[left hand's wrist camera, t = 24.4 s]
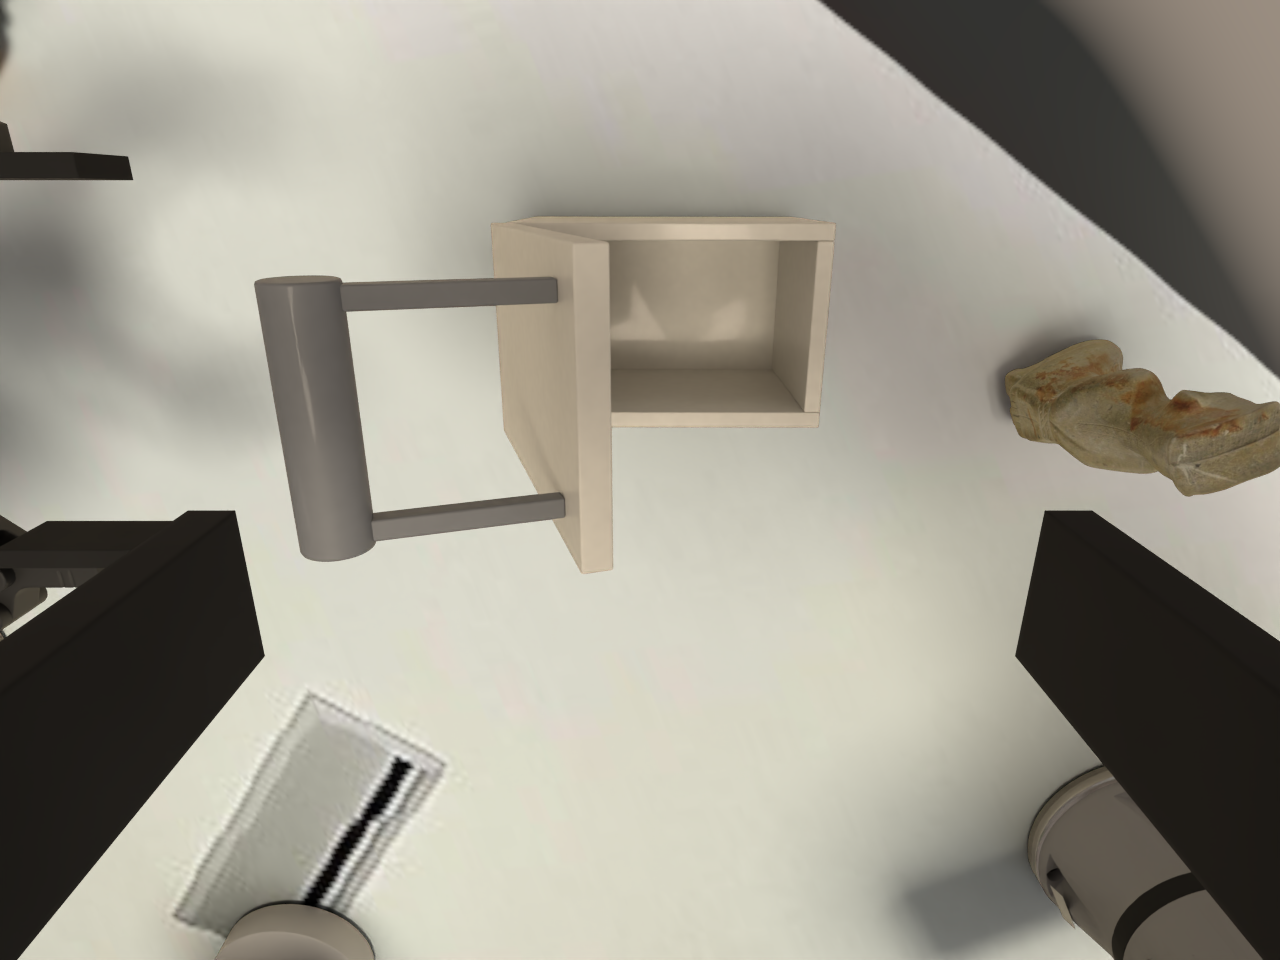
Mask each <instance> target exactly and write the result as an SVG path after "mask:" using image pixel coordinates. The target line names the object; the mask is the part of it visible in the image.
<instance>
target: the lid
mask: <svg viewBox="0 0 1280 960" xmlns="http://www.w3.org/2000/svg"><path fill="white" fill-rule="evenodd" d="M491 235H492V251H493V266H494V278H483V279H450V280H416V281H383V282H349V283H342V280H341V278H338V277H334V276H285V277H273V278H265V279H260V280H257V281H255V283H254V286H255V292H256V298H257V304H258V309H259V315H260V321H261V327H262V333H263V338H264V344H265V350H266V356H267V362H268V367H269V373H270V379H271V385H272V391H273V396H274V402H275V408H276V414H277V419H278V425H279V431H280V437H281V443H282V448H283V454H284V460H285V466H286V472H287V477H288V483H289V489H290V495H291V501H292V506H293V512H294V518H295V524H296V529H297V535H298V541H299V547H300V552H301V554H302V555H303V556H304V557H305V558H307V559H310V560H313V561H321V562H331V561H340V560H345V559H350V558H353V557H356V556H359V555H362V554H364V553H366V552H367V551H369V550H370V549H371V548H373V546H374V545H375V543H376V541H382V540H390V539H398V538H406V537H414V536H422V535H430V534H438V533H446V532H454V531H462V530H470V529H478V528H486V527H494V526H502V525H510V524H518V523H526V522H534V521H542V520H550V519H552V520H553V522H554V524H555V526H556V527H557V529H558V531H559V533H560V535H561V537H562V538H563V540H564V542H565V544H566V546H567V548H568V550H569V551H570V553H571V555H572V557H573V559H574V561H575V562H576V564H577V566H578V568H579V570H580V572H581V573H582V574H587V573H594V572H601V571H608V570H612V569H613V514H612V432H611V350H610V269H609V243H608V242H605V241H600V240H595V239H590V238H585V237H580V236H575V235H570V234H565V233H560V232H556V231H551V230H546V229H541V228H536V227H531V226H526V225H521V224H516V223H491ZM473 306H496V313H497V329H498V344H499V360H500V376H501V391H502V407H503V422H504V431H505V433H506V435H507V437H508V439H509V441H510V442H511V444H512V446H513V448H514V450H515V452H516V453H517V455H518V457H519V459H520V461H521V463H522V465H523V466H524V468H525V470H526V472H527V474H528V476H529V478H530V479H531V481H532V483H533V485H534V487H535V489H536V490H537V492H538V494H537V495H528V496H519V497H510V498H501V499H493V500H484V501H475V502H466V503H458V504H449V505H440V506H431V507H422V508H414V509H405V510H396V511H387V512H379V513H373V510H372V502H371V495H370V487H369V480H368V472H367V465H366V457H365V450H364V442H363V435H362V427H361V420H360V412H359V405H358V397H357V390H356V382H355V374H354V367H353V359H352V352H351V344H350V337H349V329H348V322H347V314H346V312H349V311H373V310H398V309H423V308H448V307H473Z"/></svg>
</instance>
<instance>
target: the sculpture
mask: <svg viewBox="0 0 1280 960" xmlns="http://www.w3.org/2000/svg"><path fill="white" fill-rule="evenodd" d="M1122 364H1123V355H1122V352H1121V350H1120V348H1119V347H1118V346H1116V345H1115V344H1114V343H1112V342H1110V341H1108V340H1089V341H1085V342H1081V343H1078V344H1075V345H1073V346H1070V347H1068V348H1066V349H1064V350H1062V351H1060V352H1058V353H1055V354H1053V355H1051V356H1050V357H1048V358H1046V359H1044V360H1043V361H1041V362H1039V363H1037V364H1035V365H1032V366H1030V367H1027V368H1023V369H1015V370H1013V371H1011V372H1009V373H1008V374H1007V375H1006V376H1005V387H1006V393H1007V395H1009V397H1010V402H1011V408H1010V414H1011V417H1012V420H1013V423H1014V425H1015V427H1016V429H1017V432H1018V434H1019V435H1020V436H1021V437H1022V438H1026V439H1028V440H1030V441H1036V442H1042V443H1056V444H1059V445H1060V446H1062V447H1063V448H1064V449H1065V450H1066V451H1068V452H1069V453H1070V454H1071V455H1072V456H1074V457H1075V458H1076V459H1078V460H1079V461H1080V462H1082V463H1083V464H1085V465H1087V466H1090V467H1094V468H1099V469H1106V470H1113V471H1120V472H1129V473H1139V474H1148V473H1154V472H1157V471H1159V472H1160V473H1161V474H1163V475H1164V476H1166V477H1168V478H1169V479H1171V480H1173V482H1174V484H1175V486H1176V488H1177V489H1178V490H1179V491H1180V492H1181V493H1182V494H1183V495H1185V496H1188V497H1190V496H1193V495H1201V494H1209V493H1214V492H1218V491H1221V490H1225V489H1228V488H1230V487H1233V486H1235V485H1238V484H1240V483H1243V482H1245V481H1248V480H1251V479H1254V478H1257V477H1260V476H1263V475H1266V474H1268V473H1270V472H1272V471H1274V470H1276V469H1277V468H1279V467H1280V404H1279V403H1278V402H1268V403H1263V404H1255V403H1253V402H1251V401H1248V400H1245V399H1242V398H1240V397H1237V396H1235V395H1233V394H1231V393H1225V392H1215V393H1204V392H1197V391H1189V390H1182V391H1180V392H1179V393H1178V394H1176V395H1175V397H1174V398H1173V399H1172V400H1170V399H1168V397H1167V396H1166V394H1165V392H1164V390H1163V387H1162V384H1161V382H1160V380H1159V379H1158V377H1157V376H1156V375H1155V374H1154V373H1153V372H1151V371H1149V370H1146V369H1141V368H1133V369H1126V370H1122Z"/></svg>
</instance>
